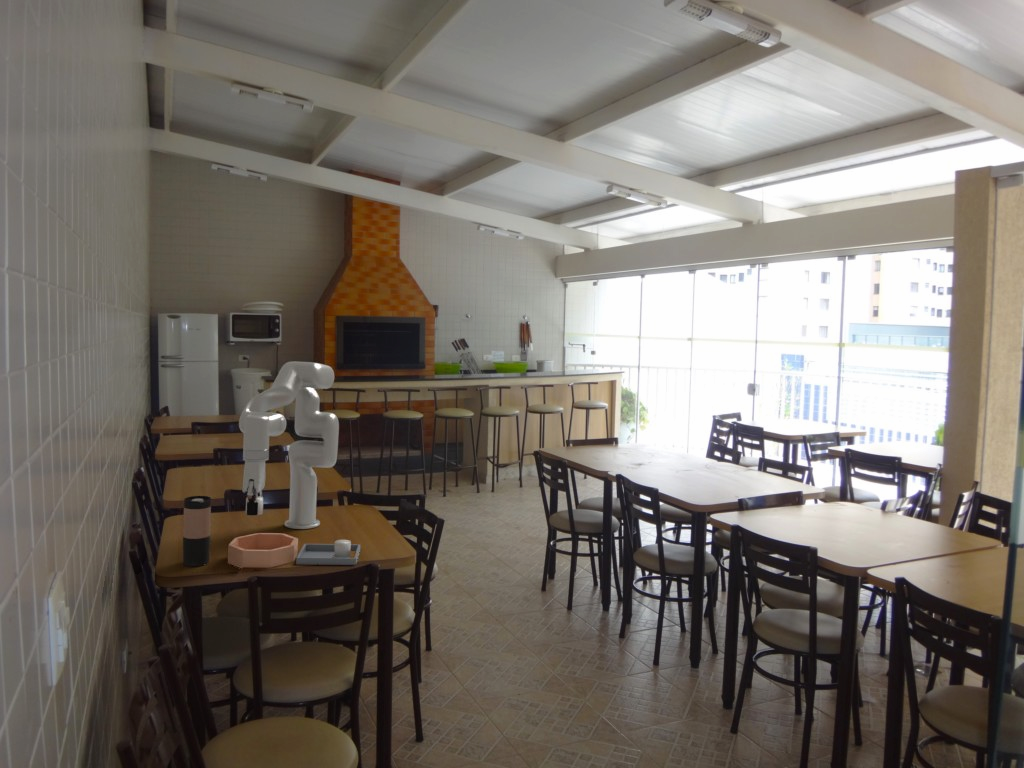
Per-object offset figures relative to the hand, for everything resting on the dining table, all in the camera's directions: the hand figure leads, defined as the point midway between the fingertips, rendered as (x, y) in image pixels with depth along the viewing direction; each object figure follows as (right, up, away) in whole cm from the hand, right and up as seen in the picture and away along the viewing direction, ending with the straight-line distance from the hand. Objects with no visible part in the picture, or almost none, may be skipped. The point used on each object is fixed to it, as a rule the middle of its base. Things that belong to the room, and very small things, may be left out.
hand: (254, 512), depth 224 cm
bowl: (+2, -15, +1) cm, 15 cm away
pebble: (+26, -15, +5) cm, 31 cm away
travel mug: (-16, -15, -5) cm, 22 cm away
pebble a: (0, 0, 0) cm, 0 cm away
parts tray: (+22, -16, +5) cm, 28 cm away
